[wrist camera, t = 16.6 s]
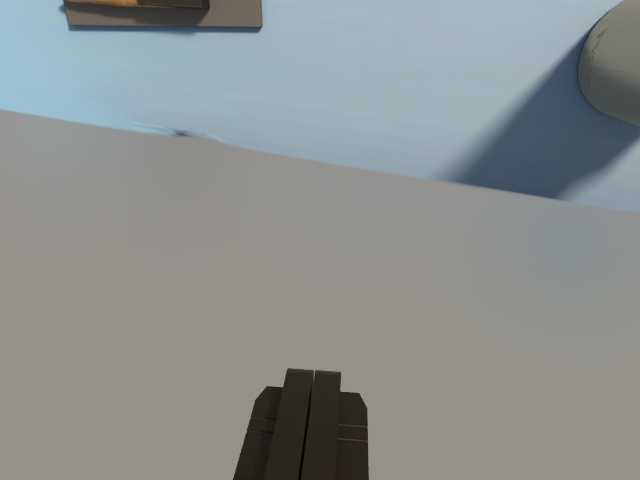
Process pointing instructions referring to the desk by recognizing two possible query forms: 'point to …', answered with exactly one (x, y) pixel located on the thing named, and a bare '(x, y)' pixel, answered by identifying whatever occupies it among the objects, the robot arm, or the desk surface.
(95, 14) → the mat
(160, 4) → the ammunition clip
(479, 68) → the desk surface
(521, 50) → the desk surface
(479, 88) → the desk surface
